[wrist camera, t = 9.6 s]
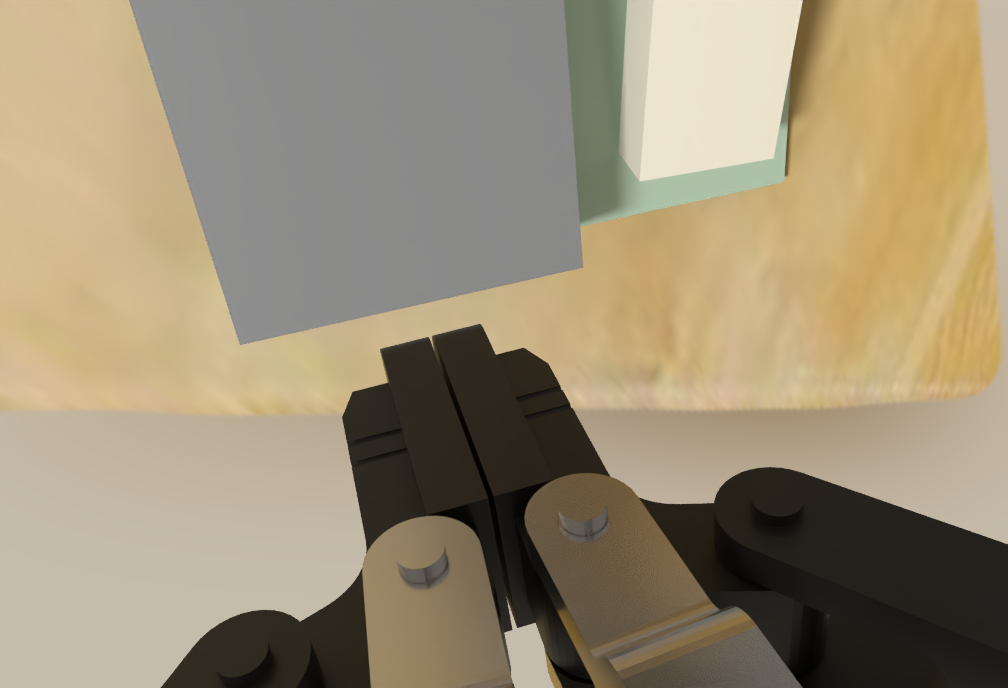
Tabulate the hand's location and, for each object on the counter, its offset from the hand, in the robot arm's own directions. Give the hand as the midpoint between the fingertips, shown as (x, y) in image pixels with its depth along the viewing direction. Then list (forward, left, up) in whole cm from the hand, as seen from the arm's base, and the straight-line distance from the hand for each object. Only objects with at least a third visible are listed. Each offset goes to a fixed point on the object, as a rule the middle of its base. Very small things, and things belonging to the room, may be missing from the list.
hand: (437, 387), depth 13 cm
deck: (+3, +2, -25) cm, 25 cm away
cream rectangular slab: (+4, +15, -21) cm, 26 cm away
